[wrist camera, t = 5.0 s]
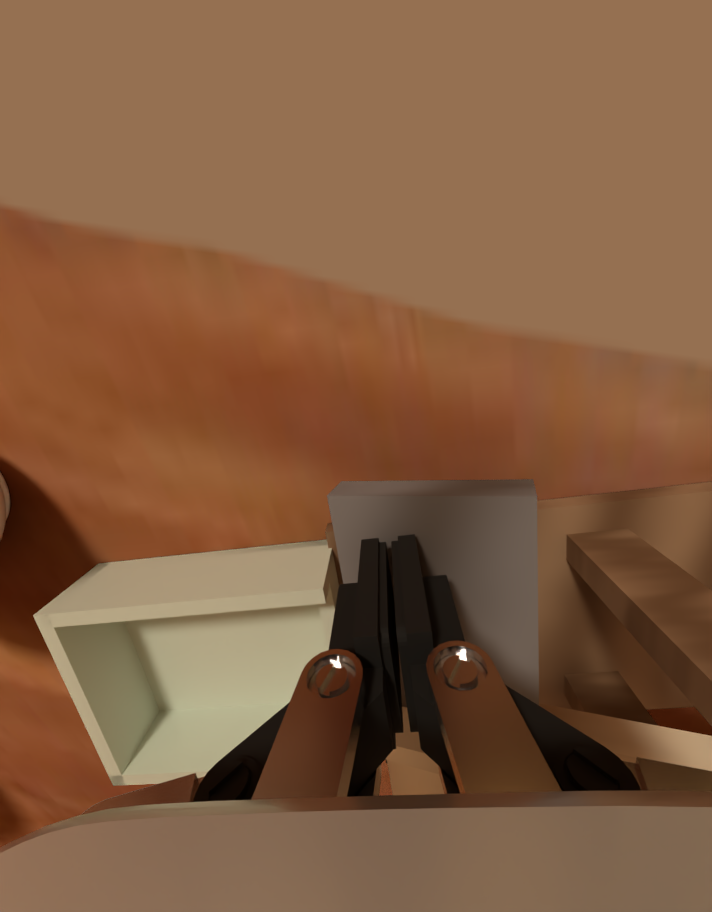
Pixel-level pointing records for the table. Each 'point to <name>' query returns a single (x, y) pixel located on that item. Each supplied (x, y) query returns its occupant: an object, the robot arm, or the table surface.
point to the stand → (623, 601)
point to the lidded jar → (4, 504)
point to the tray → (188, 651)
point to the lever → (483, 601)
